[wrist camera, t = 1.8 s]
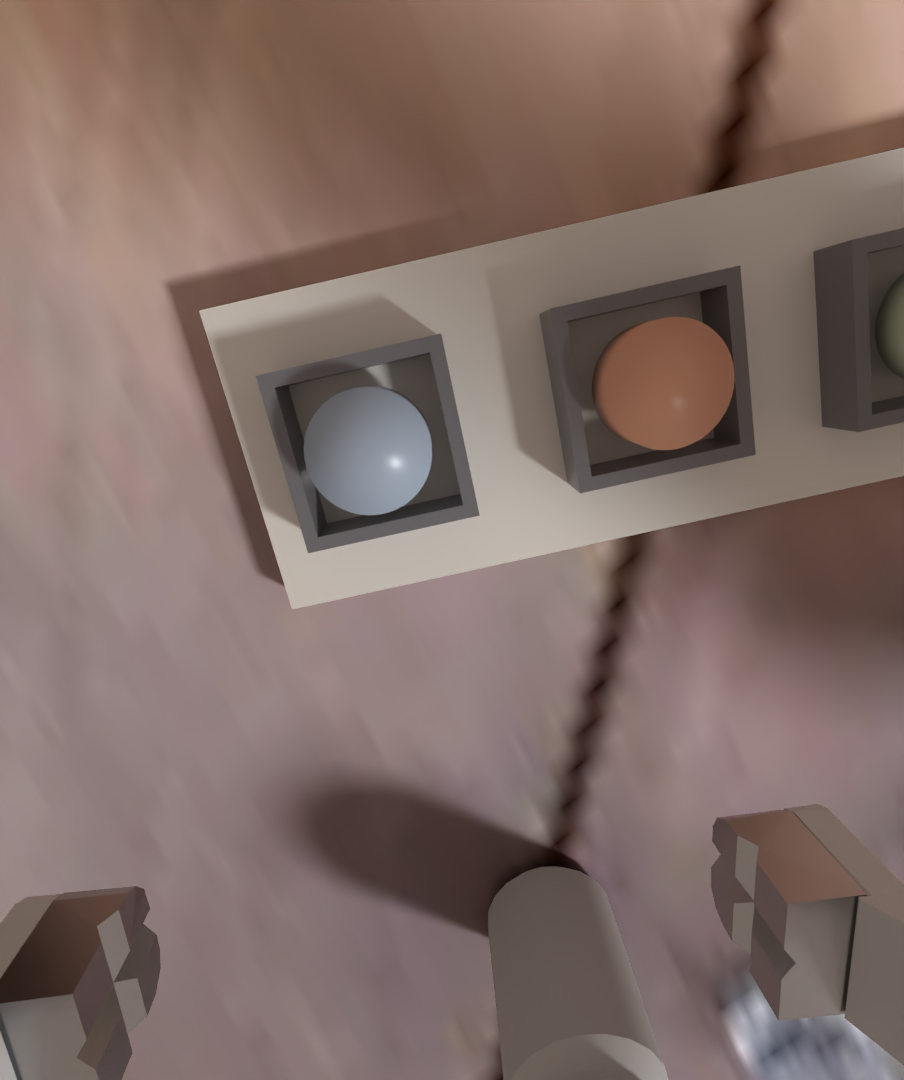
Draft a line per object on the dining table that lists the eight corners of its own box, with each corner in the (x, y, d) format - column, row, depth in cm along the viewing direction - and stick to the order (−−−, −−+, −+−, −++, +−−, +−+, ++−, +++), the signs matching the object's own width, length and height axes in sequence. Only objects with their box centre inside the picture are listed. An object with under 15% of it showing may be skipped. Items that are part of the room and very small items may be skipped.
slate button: (416, 373, 25) (415, 374, 23) (443, 489, 27) (444, 500, 25) (299, 400, 26) (288, 403, 23) (331, 514, 27) (323, 527, 25)
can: (465, 886, 37) (480, 1118, 26) (577, 836, 37) (645, 1052, 25) (518, 969, 39) (555, 1220, 28) (625, 923, 38) (709, 1161, 27)
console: (1001, 132, 27) (1110, 88, 23) (993, 443, 31) (1085, 455, 27) (214, 314, 28) (175, 304, 24) (300, 594, 32) (280, 630, 28)
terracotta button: (703, 308, 25) (728, 303, 23) (715, 429, 26) (740, 435, 24) (583, 336, 25) (597, 333, 23) (601, 454, 27) (615, 462, 24)
